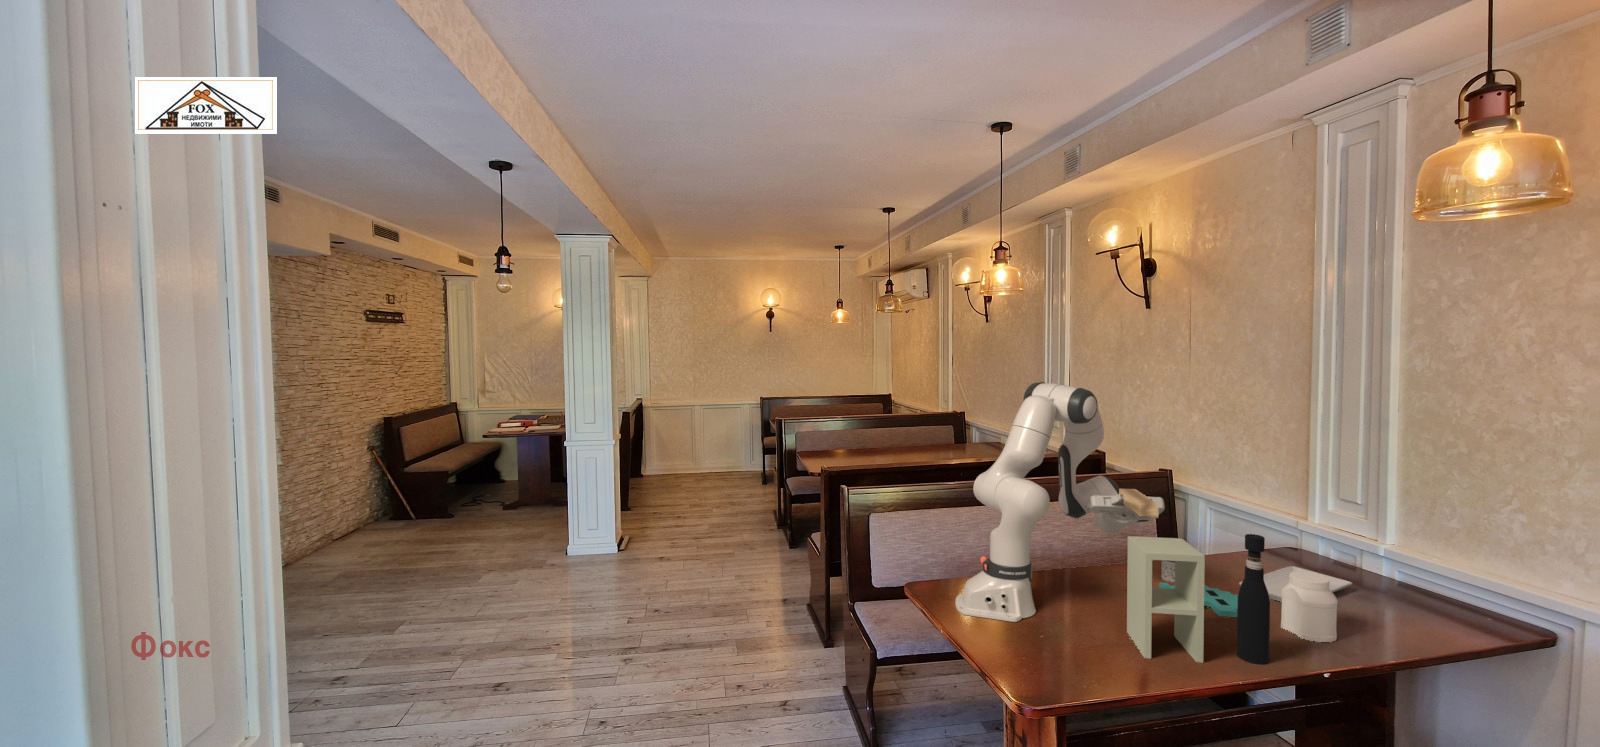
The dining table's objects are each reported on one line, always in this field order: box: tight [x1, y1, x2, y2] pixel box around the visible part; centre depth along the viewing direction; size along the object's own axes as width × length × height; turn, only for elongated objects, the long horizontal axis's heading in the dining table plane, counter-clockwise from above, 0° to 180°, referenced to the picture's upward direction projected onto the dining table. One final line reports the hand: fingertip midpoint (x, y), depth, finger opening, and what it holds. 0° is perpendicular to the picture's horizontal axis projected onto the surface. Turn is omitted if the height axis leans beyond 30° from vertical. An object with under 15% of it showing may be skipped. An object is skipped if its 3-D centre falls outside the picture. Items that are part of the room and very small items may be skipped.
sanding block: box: [1119, 488, 1159, 519], centre depth 180 cm, size 4×19×4 cm, turn 169°
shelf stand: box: [1126, 535, 1206, 664], centre depth 160 cm, size 13×14×26 cm
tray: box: [1238, 565, 1353, 603], centre depth 195 cm, size 17×32×4 cm, turn 117°
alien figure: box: [1159, 582, 1238, 617], centre depth 188 cm, size 20×2×20 cm
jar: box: [1280, 571, 1338, 643], centre depth 167 cm, size 12×10×15 cm
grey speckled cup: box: [1160, 560, 1175, 584], centre depth 208 cm, size 10×7×7 cm
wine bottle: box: [1236, 533, 1271, 665], centre depth 154 cm, size 6×6×30 cm
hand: (1132, 497), depth 185 cm, fingers closed on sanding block, 4 cm apart
